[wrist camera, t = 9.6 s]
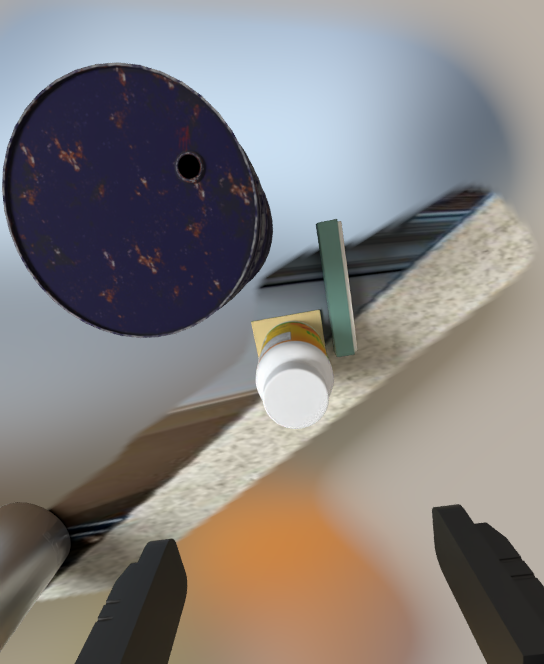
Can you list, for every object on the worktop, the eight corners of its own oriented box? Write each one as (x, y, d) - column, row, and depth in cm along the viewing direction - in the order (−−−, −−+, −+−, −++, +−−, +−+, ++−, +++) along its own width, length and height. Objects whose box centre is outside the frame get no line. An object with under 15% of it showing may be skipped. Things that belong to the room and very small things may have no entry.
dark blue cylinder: (202, 313, 28) (117, 383, 14) (130, 215, 26) (-57, 179, 12) (297, 247, 27) (312, 249, 12) (227, 137, 25) (146, -15, 10)
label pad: (264, 383, 30) (264, 384, 30) (251, 321, 28) (251, 322, 28) (329, 373, 29) (329, 374, 29) (319, 309, 28) (319, 310, 28)
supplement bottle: (334, 358, 29) (358, 413, 19) (282, 387, 30) (281, 453, 20) (303, 307, 28) (312, 340, 18) (250, 339, 29) (233, 386, 19)
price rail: (334, 351, 29) (337, 357, 27) (315, 224, 26) (317, 222, 25) (354, 348, 29) (358, 353, 27) (338, 219, 26) (341, 218, 24)
